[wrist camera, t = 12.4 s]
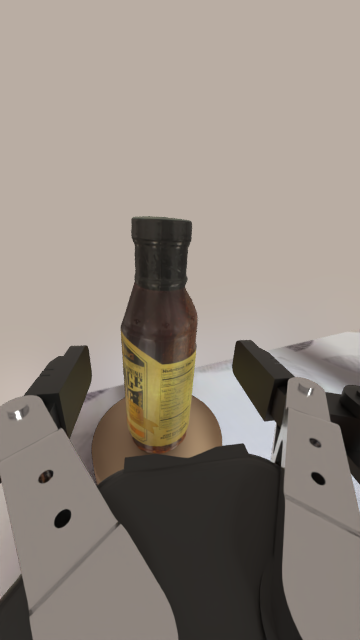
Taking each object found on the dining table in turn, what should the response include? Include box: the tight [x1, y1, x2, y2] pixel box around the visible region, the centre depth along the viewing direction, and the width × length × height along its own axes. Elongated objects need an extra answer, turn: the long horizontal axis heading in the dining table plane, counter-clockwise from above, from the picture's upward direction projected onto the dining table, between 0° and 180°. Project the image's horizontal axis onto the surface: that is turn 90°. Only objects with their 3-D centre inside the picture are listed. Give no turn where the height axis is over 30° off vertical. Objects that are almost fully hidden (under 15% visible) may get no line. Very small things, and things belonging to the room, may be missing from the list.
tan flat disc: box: [92, 396, 222, 485], centre depth 22 cm, size 13×13×3 cm
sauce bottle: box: [121, 216, 197, 454], centre depth 18 cm, size 7×6×20 cm
